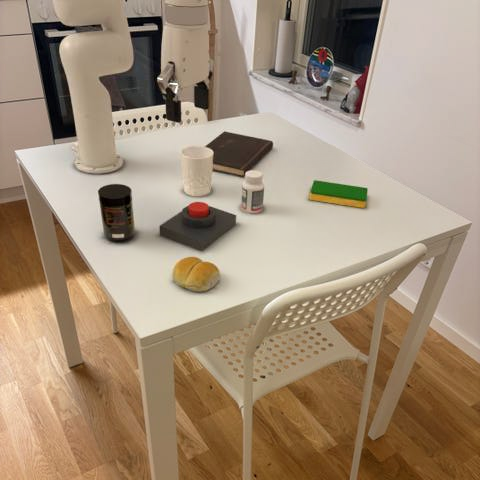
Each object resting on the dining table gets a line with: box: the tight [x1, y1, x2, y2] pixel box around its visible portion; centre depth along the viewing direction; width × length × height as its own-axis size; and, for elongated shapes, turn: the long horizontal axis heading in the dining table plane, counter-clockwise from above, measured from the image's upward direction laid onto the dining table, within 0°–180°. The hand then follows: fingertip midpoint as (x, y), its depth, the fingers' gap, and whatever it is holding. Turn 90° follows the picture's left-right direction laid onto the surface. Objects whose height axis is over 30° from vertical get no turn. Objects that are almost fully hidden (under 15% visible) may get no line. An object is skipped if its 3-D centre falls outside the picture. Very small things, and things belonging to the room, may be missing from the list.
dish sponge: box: [309, 179, 368, 209], centre depth 130 cm, size 7×14×2 cm, turn 76°
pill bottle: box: [240, 169, 265, 214], centre depth 121 cm, size 5×5×9 cm
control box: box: [159, 205, 237, 252], centre depth 114 cm, size 11×14×4 cm
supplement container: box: [97, 183, 136, 243], centre depth 108 cm, size 7×7×10 cm
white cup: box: [180, 145, 213, 197], centre depth 127 cm, size 8×8×10 cm
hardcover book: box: [204, 131, 274, 178], centre depth 147 cm, size 16×23×2 cm
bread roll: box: [172, 256, 221, 292], centre depth 99 cm, size 8×9×4 cm
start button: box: [188, 201, 210, 218], centre depth 112 cm, size 4×4×2 cm
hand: (188, 114), depth 102 cm, fingers open, 9 cm apart
